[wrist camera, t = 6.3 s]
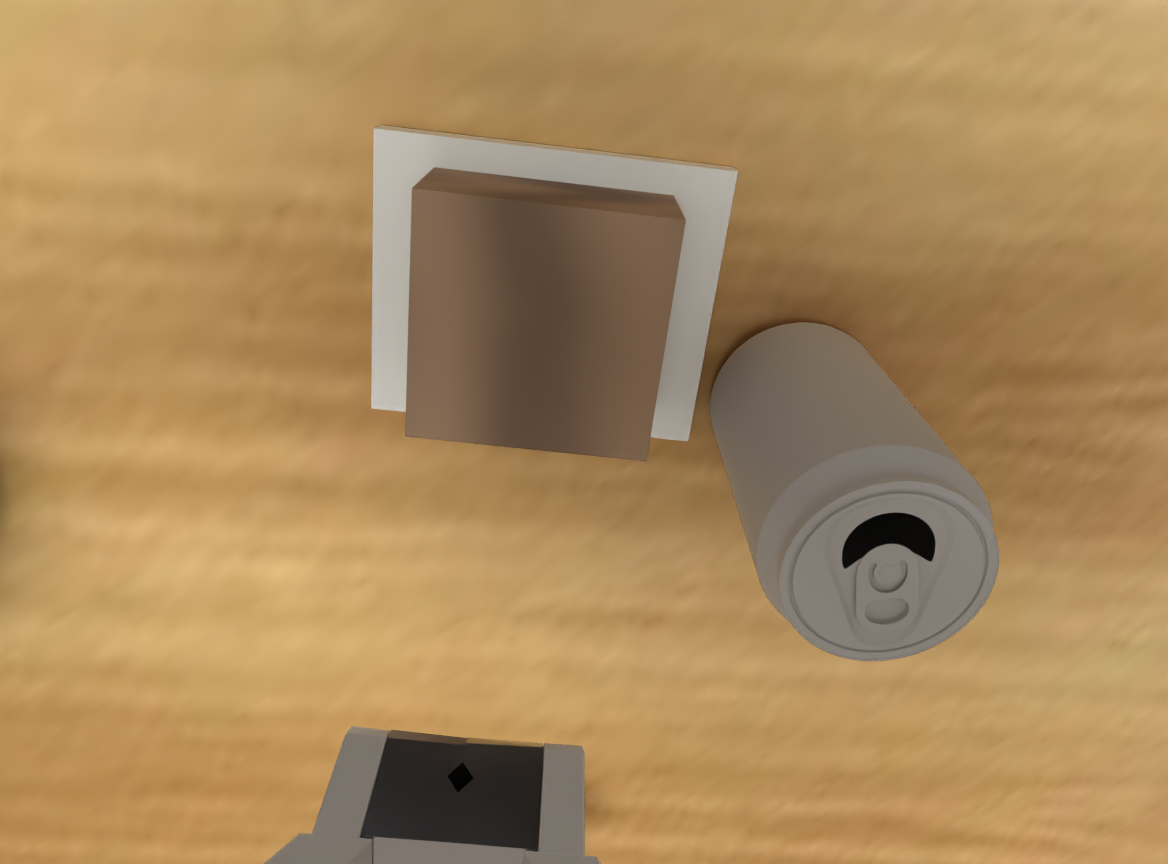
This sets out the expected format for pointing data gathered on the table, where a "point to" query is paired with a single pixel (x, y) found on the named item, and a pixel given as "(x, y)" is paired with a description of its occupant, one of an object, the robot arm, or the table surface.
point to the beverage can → (849, 497)
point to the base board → (692, 184)
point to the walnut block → (538, 312)
